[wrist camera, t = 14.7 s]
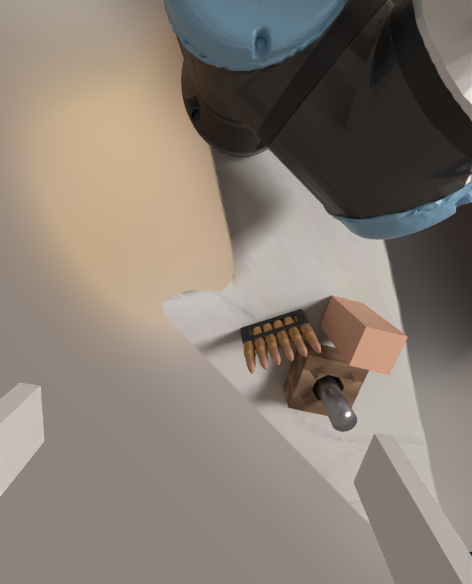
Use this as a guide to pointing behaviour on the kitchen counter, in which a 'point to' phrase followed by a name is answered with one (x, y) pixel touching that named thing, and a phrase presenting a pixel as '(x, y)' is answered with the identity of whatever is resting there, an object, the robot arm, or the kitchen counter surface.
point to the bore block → (316, 367)
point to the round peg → (335, 404)
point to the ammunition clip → (278, 338)
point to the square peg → (362, 335)
